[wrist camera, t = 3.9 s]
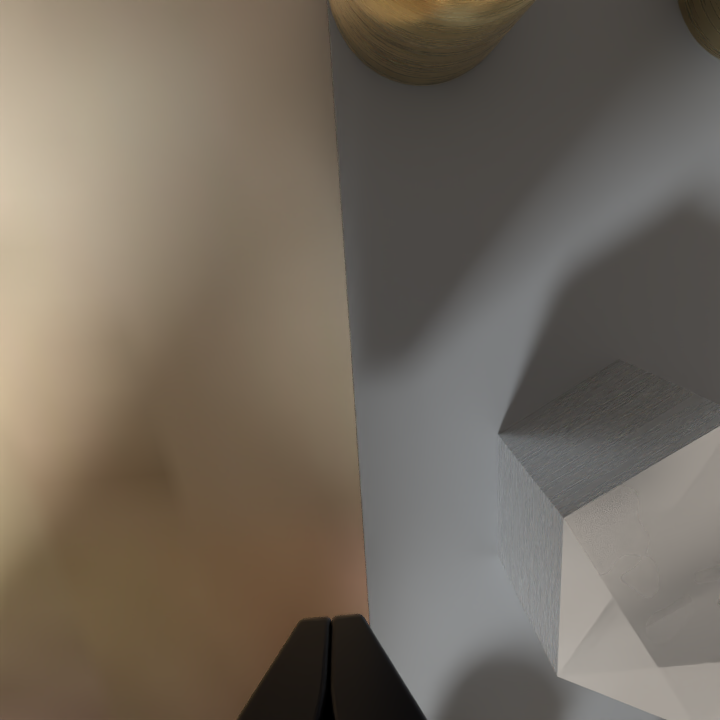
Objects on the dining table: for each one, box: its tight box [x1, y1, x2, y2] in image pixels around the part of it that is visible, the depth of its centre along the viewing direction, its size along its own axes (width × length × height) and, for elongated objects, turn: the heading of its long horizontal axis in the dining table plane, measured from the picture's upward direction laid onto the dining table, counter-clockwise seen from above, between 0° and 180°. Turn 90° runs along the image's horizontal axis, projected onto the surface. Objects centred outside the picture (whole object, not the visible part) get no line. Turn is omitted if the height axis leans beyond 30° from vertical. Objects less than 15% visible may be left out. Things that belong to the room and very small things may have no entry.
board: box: [327, 0, 720, 720], centre depth 11 cm, size 14×22×1 cm, turn 4°
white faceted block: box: [497, 359, 720, 720], centre depth 9 cm, size 5×5×3 cm
